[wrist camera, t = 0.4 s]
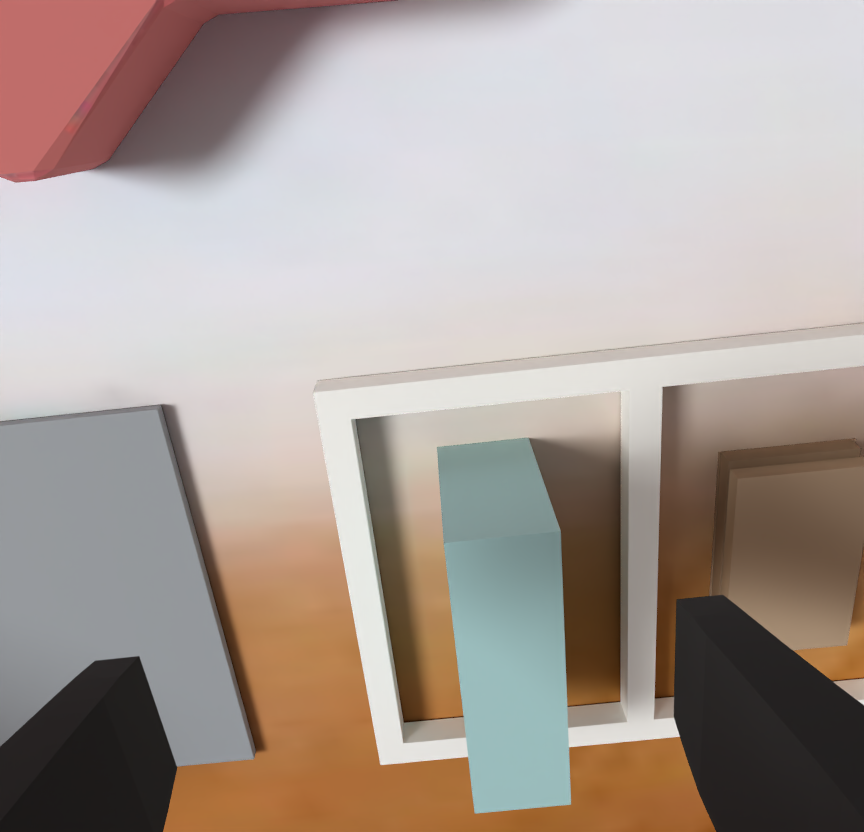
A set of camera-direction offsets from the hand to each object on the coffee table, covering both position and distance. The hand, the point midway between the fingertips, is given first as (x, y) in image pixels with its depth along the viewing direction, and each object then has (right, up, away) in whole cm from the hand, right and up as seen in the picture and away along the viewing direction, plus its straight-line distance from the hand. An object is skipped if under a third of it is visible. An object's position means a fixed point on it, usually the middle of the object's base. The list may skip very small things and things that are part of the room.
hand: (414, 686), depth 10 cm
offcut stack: (+10, 0, +11) cm, 15 cm away
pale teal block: (+2, -1, +11) cm, 11 cm away
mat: (-10, -2, +11) cm, 15 cm away
